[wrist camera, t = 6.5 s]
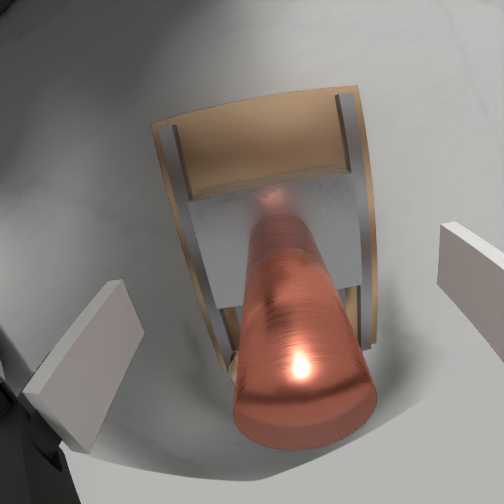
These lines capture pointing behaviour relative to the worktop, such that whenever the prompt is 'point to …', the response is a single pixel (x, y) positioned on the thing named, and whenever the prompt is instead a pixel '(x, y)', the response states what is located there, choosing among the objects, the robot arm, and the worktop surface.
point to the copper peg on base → (289, 302)
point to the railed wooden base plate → (263, 165)
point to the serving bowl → (1, 372)
